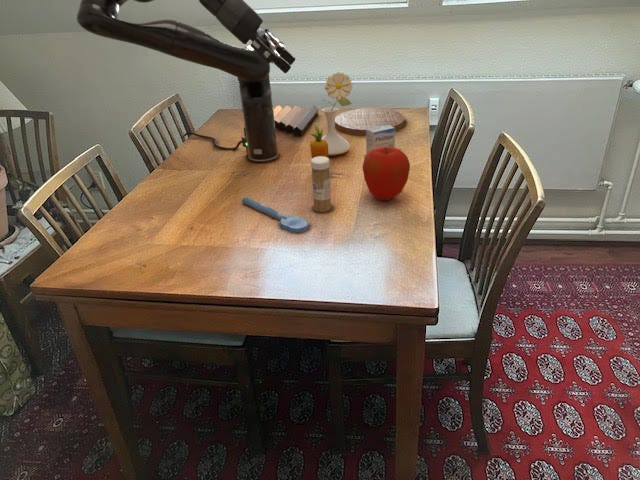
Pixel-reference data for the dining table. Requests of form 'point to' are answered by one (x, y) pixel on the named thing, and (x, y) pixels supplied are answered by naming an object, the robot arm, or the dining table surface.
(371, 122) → the trivet
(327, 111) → the flower in vase
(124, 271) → the dining table surface
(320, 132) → the carrot
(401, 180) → the apple
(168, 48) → the robot arm
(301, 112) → the pan flute
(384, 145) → the medicine box
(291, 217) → the spoon
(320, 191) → the sprinkles bottle
